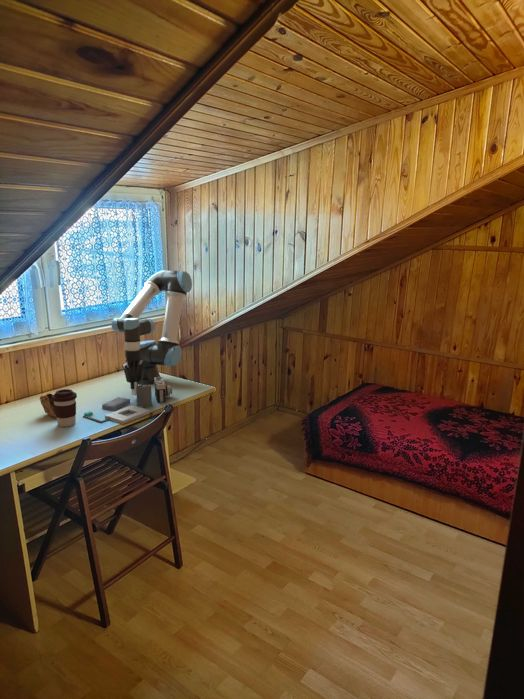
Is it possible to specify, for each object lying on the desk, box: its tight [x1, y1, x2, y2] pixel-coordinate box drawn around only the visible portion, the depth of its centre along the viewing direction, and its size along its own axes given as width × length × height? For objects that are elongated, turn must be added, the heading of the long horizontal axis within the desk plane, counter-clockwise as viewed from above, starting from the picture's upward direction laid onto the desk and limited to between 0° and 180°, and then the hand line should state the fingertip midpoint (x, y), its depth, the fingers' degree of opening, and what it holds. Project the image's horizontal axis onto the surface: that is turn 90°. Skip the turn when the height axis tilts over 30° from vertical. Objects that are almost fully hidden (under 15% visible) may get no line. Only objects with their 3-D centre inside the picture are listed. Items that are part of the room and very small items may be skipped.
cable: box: [82, 410, 111, 424], centre depth 210 cm, size 5×13×1 cm, turn 57°
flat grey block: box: [101, 397, 131, 412], centre depth 226 cm, size 12×7×3 cm, turn 159°
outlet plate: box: [104, 404, 151, 425], centre depth 214 cm, size 16×12×2 cm
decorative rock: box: [39, 393, 57, 419], centre depth 212 cm, size 12×6×11 cm, turn 63°
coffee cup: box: [52, 388, 78, 428], centre depth 201 cm, size 10×10×15 cm
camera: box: [153, 376, 173, 404], centre depth 237 cm, size 14×8×10 cm, turn 18°
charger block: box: [136, 384, 153, 409], centre depth 226 cm, size 5×5×10 cm
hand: (134, 394), depth 236 cm, fingers closed
